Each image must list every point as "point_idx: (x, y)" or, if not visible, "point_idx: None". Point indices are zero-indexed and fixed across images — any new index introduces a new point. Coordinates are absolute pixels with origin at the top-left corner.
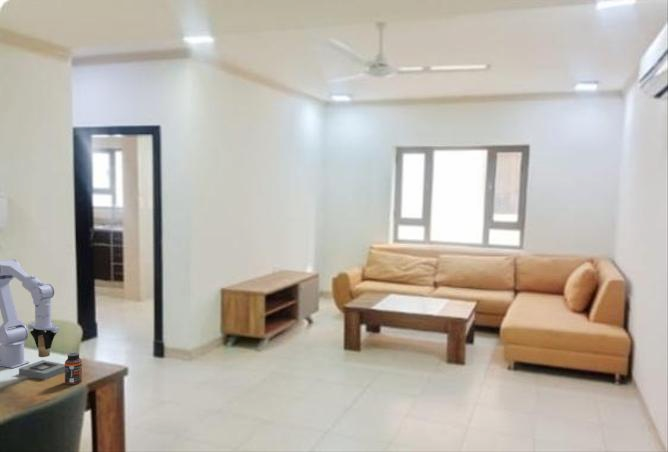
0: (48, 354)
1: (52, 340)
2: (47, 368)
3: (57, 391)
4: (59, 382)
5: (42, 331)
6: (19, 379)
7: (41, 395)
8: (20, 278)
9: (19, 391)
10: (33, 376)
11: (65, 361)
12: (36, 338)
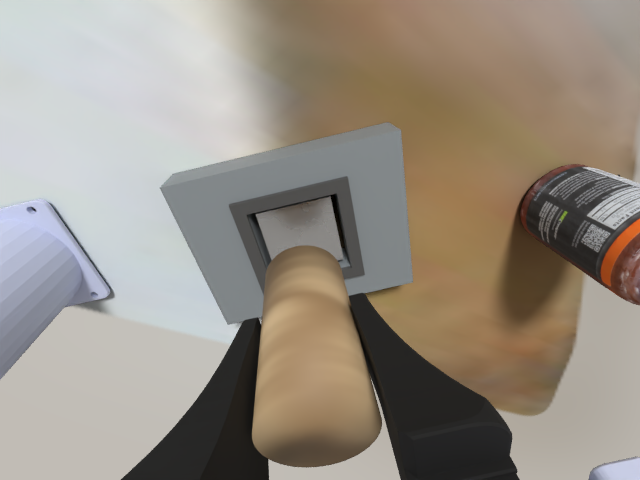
0: (340, 270)
1: (400, 340)
2: (359, 246)
3: (557, 286)
4: (489, 238)
5: (226, 477)
6: None
7: (527, 330)
8: None
9: None
10: None
11: (636, 304)
12: None
